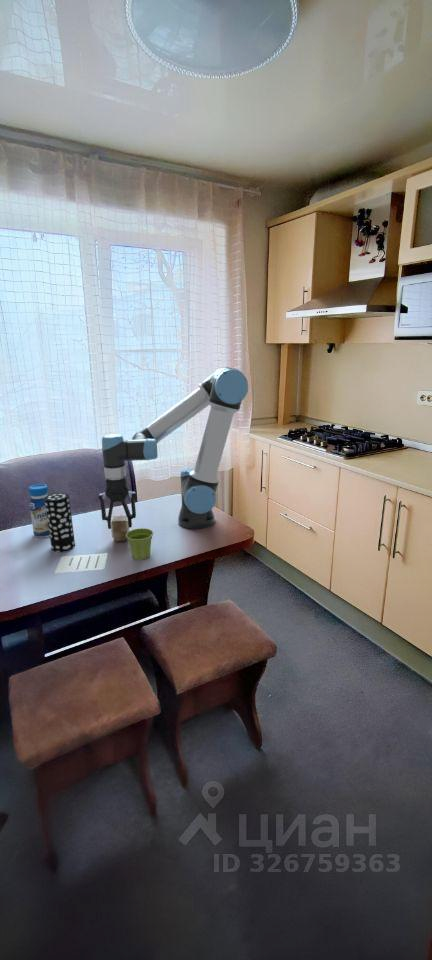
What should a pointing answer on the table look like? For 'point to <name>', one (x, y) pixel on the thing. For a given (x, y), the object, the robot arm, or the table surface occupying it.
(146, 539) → the plant pot
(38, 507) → the beverage bottle
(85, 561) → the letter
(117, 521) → the block
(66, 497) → the white-spotted black cylinder
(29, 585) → the table surface
